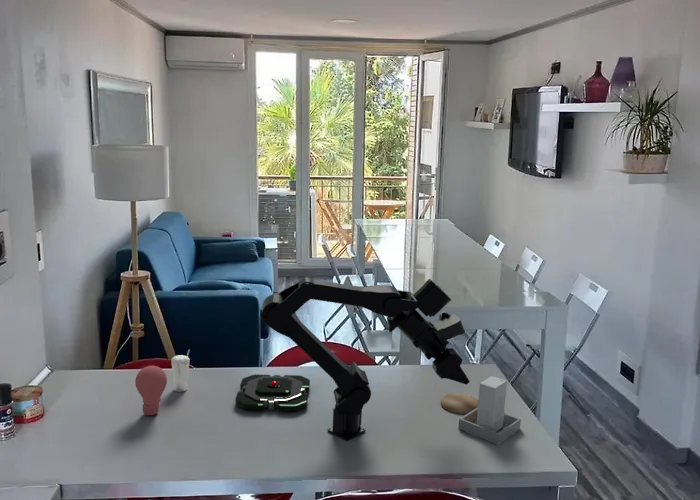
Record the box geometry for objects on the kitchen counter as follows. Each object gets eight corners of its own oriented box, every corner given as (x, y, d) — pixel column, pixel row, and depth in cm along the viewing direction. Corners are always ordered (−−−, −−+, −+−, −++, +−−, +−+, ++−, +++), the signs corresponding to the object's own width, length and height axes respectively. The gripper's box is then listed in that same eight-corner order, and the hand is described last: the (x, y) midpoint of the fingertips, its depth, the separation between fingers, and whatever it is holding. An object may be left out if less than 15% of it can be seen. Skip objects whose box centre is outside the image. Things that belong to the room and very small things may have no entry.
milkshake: (196, 387, 166) (195, 351, 163) (180, 394, 161) (179, 357, 159) (183, 383, 168) (183, 347, 166) (168, 389, 163) (167, 353, 161)
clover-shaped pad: (310, 384, 171) (310, 368, 170) (307, 415, 154) (308, 398, 153) (243, 382, 170) (243, 366, 170) (233, 414, 153) (233, 396, 152)
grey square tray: (498, 444, 142) (499, 434, 142) (458, 428, 149) (459, 418, 149) (519, 428, 150) (520, 419, 150) (481, 413, 157) (481, 404, 156)
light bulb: (173, 414, 151) (172, 367, 148) (146, 424, 146) (144, 375, 143) (157, 404, 155) (156, 358, 153) (130, 413, 150) (129, 366, 148)
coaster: (466, 418, 155) (467, 415, 154) (432, 404, 161) (433, 401, 161) (487, 405, 162) (487, 402, 162) (454, 392, 168) (454, 390, 168)
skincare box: (487, 421, 153) (491, 375, 151) (503, 427, 151) (507, 380, 148) (474, 430, 149) (479, 383, 146) (491, 436, 146) (496, 388, 144)
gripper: (455, 319, 133) (502, 367, 137) (433, 293, 151) (475, 336, 155) (417, 354, 134) (464, 401, 137) (399, 325, 152) (441, 367, 155)
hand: (462, 374), depth 146 cm, fingers open, 9 cm apart
